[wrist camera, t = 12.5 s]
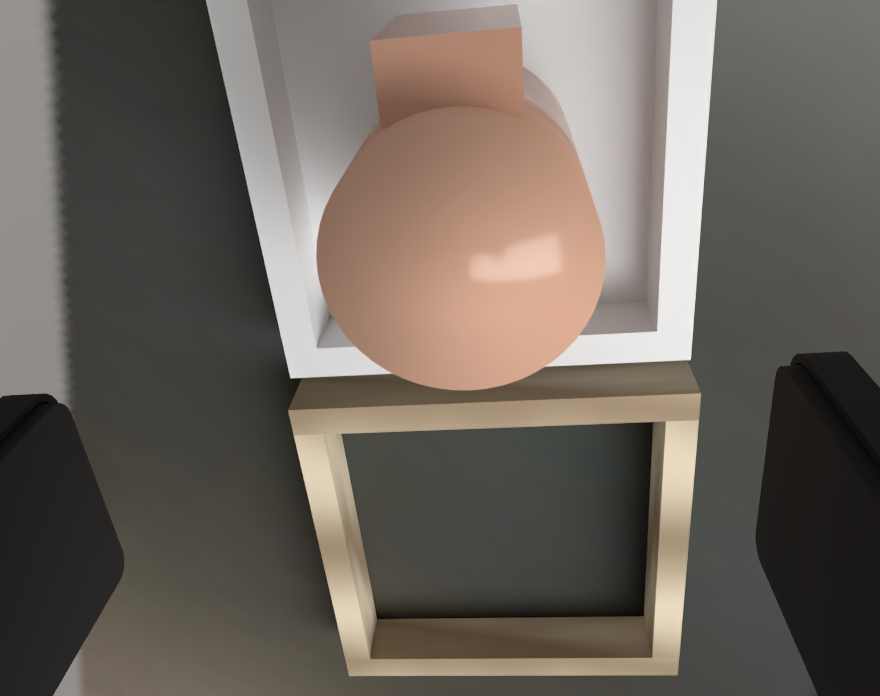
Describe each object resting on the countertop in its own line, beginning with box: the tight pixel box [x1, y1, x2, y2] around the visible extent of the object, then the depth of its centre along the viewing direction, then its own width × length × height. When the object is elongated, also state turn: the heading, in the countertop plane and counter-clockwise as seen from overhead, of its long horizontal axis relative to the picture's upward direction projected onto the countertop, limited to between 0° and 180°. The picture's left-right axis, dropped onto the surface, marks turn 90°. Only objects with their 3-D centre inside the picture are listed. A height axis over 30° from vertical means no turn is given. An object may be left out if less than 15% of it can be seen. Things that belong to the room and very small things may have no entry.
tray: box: [206, 0, 717, 378], centre depth 21 cm, size 12×12×2 cm
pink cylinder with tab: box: [316, 4, 606, 390], centre depth 18 cm, size 7×6×8 cm
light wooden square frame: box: [288, 360, 701, 676], centre depth 28 cm, size 13×13×2 cm
